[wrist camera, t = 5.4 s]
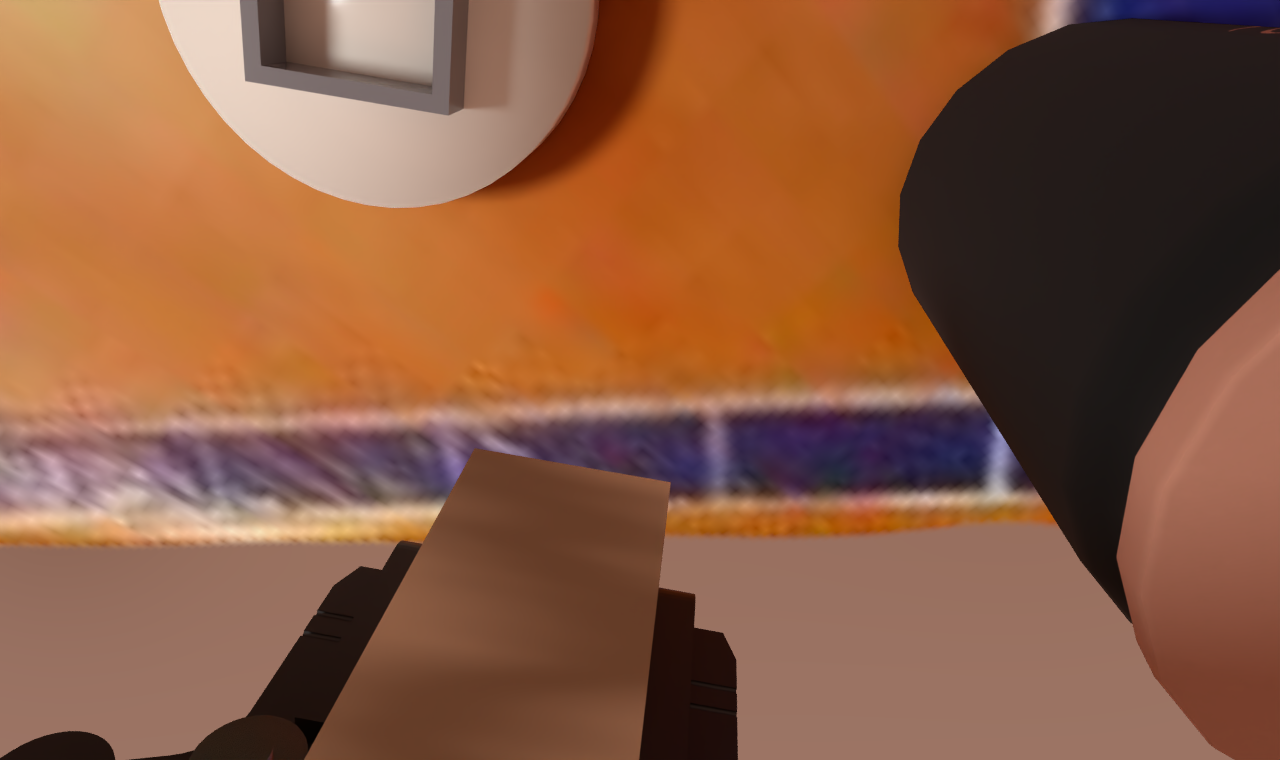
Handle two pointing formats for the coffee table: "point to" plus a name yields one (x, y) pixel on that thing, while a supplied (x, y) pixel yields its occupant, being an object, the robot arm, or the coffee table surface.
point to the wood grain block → (514, 624)
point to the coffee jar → (1130, 326)
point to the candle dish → (388, 86)
